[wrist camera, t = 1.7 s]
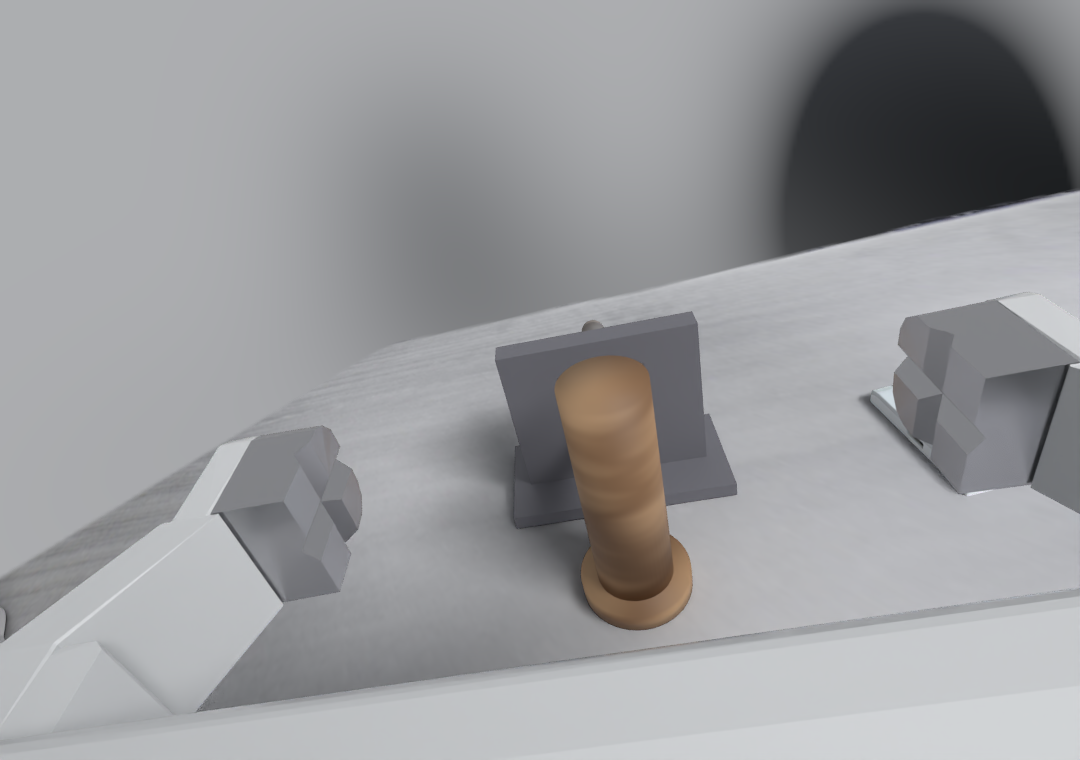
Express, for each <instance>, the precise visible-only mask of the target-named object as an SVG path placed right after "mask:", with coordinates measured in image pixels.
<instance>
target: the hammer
mask: <svg viewBox="0 0 1080 760" xmlns="http://www.w3.org/2000/svg"><path fill="white" fill-rule="evenodd" d="M600 328H604V327H603V325H602V324H601V323H600V322H598V321H596V320H591V321H588V322H586V323H585V324H584V326H583V328H582V332H583V331H589V330H594V329H600ZM554 391H555V396H556V401H557V405H558V409H559V413H560V418H561V422H562V426H563V430H564V435H565V439H566V443H567V447H568V452H569V456H570V460H571V464H572V469H573V473H574V477H575V481H576V485H577V490H578V494H579V498H580V502H581V507H582V511H583V515H584V519H585V524H586V528H587V532H588V536H589V541H590V545H591V547H590V548H589V549H588V551H587V553H586V554H585V556H584V559H583V562H582V566H581V580H582V584H583V588H584V592H585V596H586V599H587V601H588V603H589V605H590V607H591V608H592V610H593V611H594V612H595V613H596V614H597V615H598V616H599V617H600V618H601V619H603V620H604V621H606V622H607V623H609V624H611V625H614V626H616V627H619V628H623V629H628V630H646V629H651V628H655V627H658V626H661V625H663V624H665V623H667V622H669V621H671V620H672V619H674V618H675V617H676V616H677V615H678V614H679V613H680V612H681V611H682V610H683V609H684V607H685V606H686V604H687V603H688V601H689V599H690V596H691V592H692V586H693V584H692V571H691V563H690V559H689V556H688V554H687V552H686V550H685V548H684V547H683V546H682V544H681V543H680V542H679V541H678V540H677V539H675V538H674V537H673V536H671V535H670V534H669V526H668V519H667V511H666V503H665V495H664V487H663V479H662V471H661V463H660V455H659V447H658V439H657V431H656V423H655V415H654V407H653V399H652V391H651V384H650V376H649V373H648V370H647V369H646V367H645V366H644V365H643V364H641V363H640V362H638V361H636V360H634V359H631V358H628V357H623V356H615V355H608V356H598V357H593V358H589V359H586V360H583V361H581V362H578V363H576V364H574V365H573V366H571V367H569V368H568V369H567V370H565V371H564V372H563V373H562V374H561V375H560V376H559V378H558V379H557V381H556V383H555V388H554Z"/></svg>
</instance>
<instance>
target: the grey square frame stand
mask: <svg viewBox="0 0 1080 760" xmlns="http://www.w3.org/2000/svg"><path fill="white" fill-rule="evenodd" d="M608 355H615V356H623V357H628V358H631V359H634V360H636V361H638V362H640V363H641V364H643V365H644V366H645V367H646V369H647V370H648V373H649V376H650V384H651V391H652V399H653V407H654V415H655V423H656V431H657V439H658V447H659V455H660V463H661V471H662V479H663V487H664V495H665V503H666V505H673V504H679V503H685V502H692V501H698V500H705V499H711V498H718V497H724V496H731V495H737V484H736V481H735V478H734V476H733V473H732V471H731V468H730V466H729V463H728V461H727V458H726V455H725V453H724V450H723V448H722V445H721V443H720V440H719V438H718V435H717V433H716V430H715V427H714V425H713V422H712V420H711V417H710V415H709V414H704V411H703V396H702V381H701V367H700V352H699V338H698V323H697V321H696V319H695V317H694V315H693V312H692V311H691V312H686V313H681V314H675V315H670V316H664V317H659V318H654V319H648V320H643V321H637V322H632V323H627V324H621V325H616V326H610V327H605V328H600V329H594V330H589V331H583V332H578V333H572V334H567V335H562V336H556V337H551V338H545V339H540V340H535V341H529V342H524V343H518V344H513V345H508V346H502V347H497V348H496V355H495V362H496V365H497V369H498V372H499V375H500V379H501V382H502V386H503V389H504V393H505V396H506V399H507V403H508V406H509V410H510V413H511V416H512V420H513V423H514V427H515V430H516V434H517V437H518V440H519V444H520V446H515V485H514V521H515V524H516V527H517V529H518V528H524V527H531V526H537V525H544V524H550V523H557V522H563V521H569V520H576V519H582V518H584V515H583V511H582V507H581V502H580V498H579V494H578V490H577V485H576V481H575V477H574V473H573V469H572V464H571V460H570V456H569V452H568V447H567V443H566V439H565V435H564V430H563V426H562V422H561V418H560V413H559V409H558V405H557V401H556V396H555V391H554V388H555V383H556V381H557V379H558V378H559V376H560V375H561V374H562V373H563V372H564V371H565V370H567V369H568V368H569V367H571V366H573V365H574V364H576V363H578V362H581V361H583V360H586V359H589V358H593V357H598V356H608Z"/></svg>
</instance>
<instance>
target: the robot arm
mask: <svg viewBox="0 0 1080 760" xmlns="http://www.w3.org/2000/svg"><path fill="white" fill-rule="evenodd" d="M898 345H899V347H900V348H901V349H902V350H903V351H904V352H905V353H906V355H907V356H908V357H907V358H906V359H905V360H904V361H903V362H902V364H901V365H900V366H899V367H898V368H897V369H896V371H895V372H894V381H893V396H894V401H895V406H896V411H897V413H898V415H899V417H900V419H901V421H902V423H903V425H904V426H905V428H906V429H907V430H908V432H909V433H910V434H911V435H912V437H914V438H917V439H919V440H921V441H924V442H926V443H928V444H931V445H933V446H932V451H931V457H930V459H931V460H932V462H933V463H934V464H935V465H936V467H937V468H938V469H939V470H940V471H941V473H942V474H943V475H944V476H945V478H946V479H947V480H948V481H949V483H950V484H951V485H952V486H953V487H954V489H955V490H956V491H957V492H958V494H963V493H971V492H978V491H986V490H993V489H1001V488H1008V487H1016V486H1024V485H1031V488H1032V489H1034V490H1036V491H1038V492H1040V493H1042V494H1043V495H1045V496H1047V497H1049V498H1051V499H1053V500H1055V501H1057V502H1059V503H1060V504H1062V505H1064V506H1066V507H1068V508H1070V509H1072V510H1074V511H1076V512H1077V513H1079V514H1080V320H1079V319H1077V318H1076V317H1074V316H1073V315H1071V314H1070V313H1068V312H1067V311H1065V310H1064V309H1062V308H1061V307H1059V306H1058V305H1056V304H1055V303H1053V302H1051V301H1050V300H1048V299H1047V298H1045V297H1044V296H1042V295H1041V294H1037V293H1031V292H1024V293H1019V294H1015V295H1010V296H1006V297H1001V298H996V299H992V300H987V301H985V302H981V303H976V304H971V305H966V306H961V307H956V308H951V309H946V310H941V311H937V312H932V313H927V314H922V315H917V316H912V317H907V318H905V320H904V322H903V324H902V326H901V328H900V334H899V341H898ZM339 449H340V445H339V444H338V442H337V440H336V438H335V436H334V435H333V433H332V431H331V429H328V428H326V427H324V426H316V427H310V428H304V429H298V430H292V431H285V432H279V433H273V434H267V435H261V436H259V437H249V438H244V439H239V440H234V441H229V442H227V443H225V444H222V445H220V446H219V447H218V449H217V450H216V452H215V454H214V455H213V457H212V458H211V460H210V462H209V463H208V465H207V466H206V468H205V470H204V471H203V473H202V474H201V476H200V478H199V479H198V481H197V482H196V484H195V486H194V487H193V489H192V490H191V492H190V494H189V495H188V497H187V498H186V500H185V502H184V503H183V505H182V506H181V508H180V510H179V511H178V513H177V514H176V516H175V517H174V519H173V521H172V522H168V523H163V524H160V525H159V526H158V527H156V528H155V529H154V530H152V531H151V532H150V533H148V534H147V535H146V536H144V537H143V538H142V539H140V540H139V541H138V542H136V543H135V544H134V545H132V546H131V547H130V548H128V549H127V550H126V551H124V552H123V553H121V554H120V555H119V556H117V557H116V558H115V559H113V560H112V561H111V562H109V563H108V564H107V565H105V566H104V567H103V568H101V569H100V570H99V571H97V572H96V573H95V574H93V575H92V576H91V577H89V578H88V579H87V580H85V581H84V582H83V583H81V584H80V585H79V586H77V587H76V588H75V589H73V590H72V591H71V592H69V593H68V594H67V595H65V596H64V597H63V598H61V599H60V600H58V601H57V602H56V603H54V604H53V605H52V606H50V607H49V608H48V609H46V610H45V611H44V612H42V613H41V614H40V615H38V616H37V617H36V618H34V619H33V620H32V621H30V622H29V623H28V624H26V625H25V626H24V627H22V628H21V629H20V630H18V631H17V632H16V633H14V634H13V635H12V636H10V637H9V638H8V639H6V640H5V639H4V630H5V622H6V614H5V611H4V609H3V608H1V607H0V760H1080V588H1075V589H1067V590H1060V591H1053V592H1046V593H1039V594H1032V595H1025V596H1018V597H1011V598H1003V599H996V600H989V601H982V602H975V603H968V604H961V605H954V606H947V607H940V608H933V609H925V610H918V611H911V612H904V613H897V614H890V615H883V616H876V617H869V618H862V619H854V620H847V621H840V622H833V623H826V624H819V625H812V626H805V627H798V628H791V629H783V630H776V631H769V632H762V633H755V634H748V635H741V636H734V637H727V638H720V639H712V640H705V641H698V642H691V643H684V644H677V645H670V646H663V647H656V648H649V649H642V650H634V651H627V652H620V653H613V654H606V655H599V656H592V657H585V658H578V659H571V660H563V661H556V662H549V663H542V664H535V665H528V666H521V667H514V668H507V669H500V670H493V671H485V672H478V673H471V674H464V675H457V676H450V677H443V678H436V679H429V680H422V681H415V682H407V683H400V684H393V685H386V686H379V687H372V688H365V689H358V690H351V691H344V692H337V693H329V694H322V695H315V696H308V697H301V698H294V699H287V700H280V701H273V702H266V703H259V704H252V705H244V706H237V707H230V708H223V709H216V710H209V711H202V712H196V711H197V709H198V708H199V707H200V706H201V705H202V703H203V702H204V701H205V700H206V699H207V697H208V696H209V695H210V694H211V693H212V691H213V690H214V689H215V688H216V686H217V685H218V684H219V683H220V682H221V680H222V679H223V678H224V677H225V676H226V674H227V673H228V672H229V671H230V670H231V668H232V667H233V666H234V665H235V664H236V662H237V661H238V660H239V659H240V658H241V656H242V655H243V654H244V653H245V651H246V650H247V649H248V648H249V647H250V645H251V644H252V643H253V642H254V641H255V639H256V638H257V637H258V636H259V635H260V633H261V632H262V631H263V630H264V629H265V627H266V626H267V625H268V624H269V623H270V621H271V620H272V619H273V618H274V616H275V615H276V614H277V613H278V612H279V610H280V609H281V608H282V607H283V603H282V602H288V601H293V600H298V599H304V598H309V597H314V596H320V595H325V594H331V593H336V592H340V590H341V586H342V583H343V580H344V576H345V573H346V569H347V566H348V563H349V559H350V556H351V553H350V551H349V549H348V547H347V546H346V544H345V542H346V541H347V540H348V539H349V538H350V537H351V536H352V535H353V534H354V533H355V532H356V531H357V530H358V528H359V524H360V520H361V516H362V495H361V491H360V488H359V484H358V481H357V479H356V477H355V474H354V472H353V470H352V469H351V468H350V467H348V466H346V465H345V464H343V463H341V462H340V461H338V460H336V458H337V455H338V452H339Z"/></svg>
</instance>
